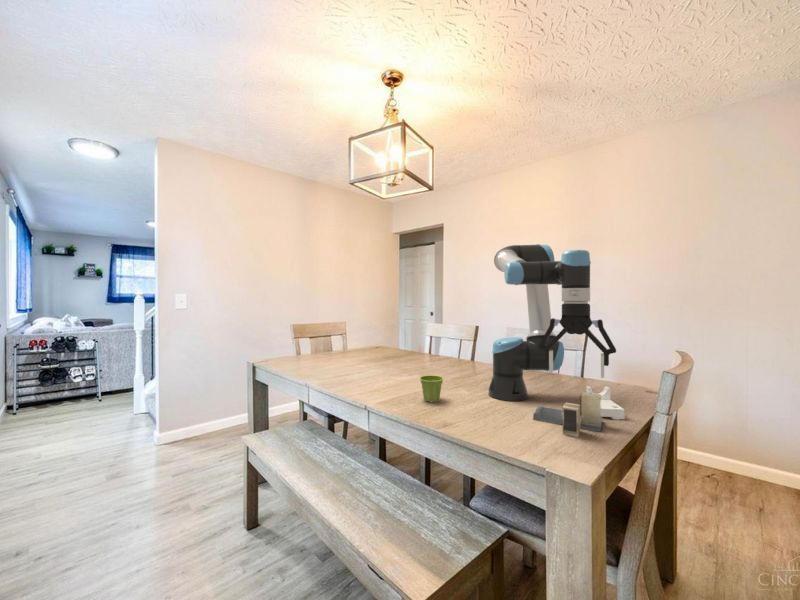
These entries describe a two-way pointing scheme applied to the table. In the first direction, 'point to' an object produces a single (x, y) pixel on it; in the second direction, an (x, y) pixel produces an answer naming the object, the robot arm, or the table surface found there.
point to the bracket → (608, 405)
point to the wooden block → (571, 419)
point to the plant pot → (431, 387)
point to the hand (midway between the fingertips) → (575, 374)
